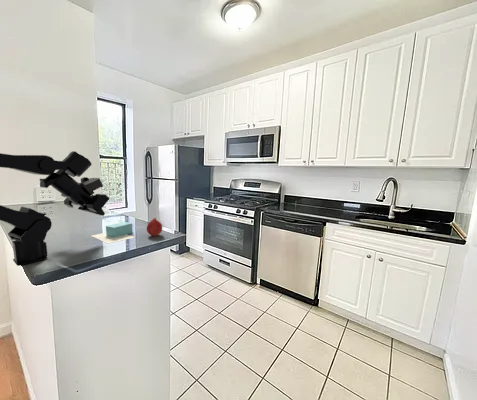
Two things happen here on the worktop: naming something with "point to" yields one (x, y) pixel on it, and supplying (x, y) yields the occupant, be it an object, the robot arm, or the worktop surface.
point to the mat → (111, 238)
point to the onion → (154, 227)
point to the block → (119, 229)
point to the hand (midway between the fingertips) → (103, 214)
